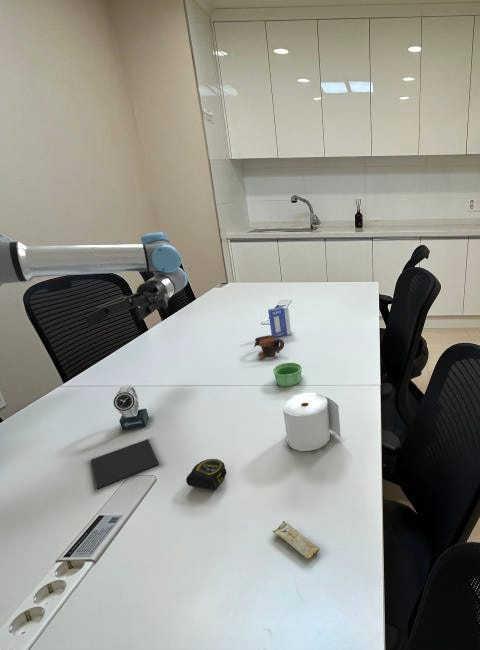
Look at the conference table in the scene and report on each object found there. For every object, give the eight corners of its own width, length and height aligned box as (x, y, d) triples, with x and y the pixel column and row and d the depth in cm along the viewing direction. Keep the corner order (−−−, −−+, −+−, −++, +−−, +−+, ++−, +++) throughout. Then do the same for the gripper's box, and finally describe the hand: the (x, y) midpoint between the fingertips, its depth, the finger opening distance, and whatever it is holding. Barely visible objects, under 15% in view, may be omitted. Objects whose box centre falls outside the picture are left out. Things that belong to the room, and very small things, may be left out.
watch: (120, 434, 100) (107, 398, 95) (128, 418, 107) (116, 383, 102) (144, 430, 101) (133, 394, 97) (150, 414, 108) (140, 379, 104)
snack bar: (321, 547, 67) (308, 555, 64) (319, 555, 67) (307, 563, 64) (285, 519, 72) (272, 525, 70) (283, 527, 72) (271, 533, 70)
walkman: (274, 338, 159) (270, 310, 154) (271, 336, 161) (267, 308, 156) (291, 333, 163) (288, 306, 158) (289, 331, 165) (285, 304, 160)
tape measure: (186, 489, 81) (182, 475, 80) (207, 468, 87) (204, 454, 86) (214, 495, 79) (210, 481, 78) (234, 473, 85) (231, 459, 84)
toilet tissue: (282, 433, 98) (277, 399, 94) (326, 420, 103) (323, 387, 99) (294, 457, 90) (289, 420, 86) (341, 441, 95) (339, 406, 91)
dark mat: (91, 460, 90) (91, 459, 90) (148, 440, 97) (147, 438, 97) (97, 489, 82) (96, 487, 82) (159, 464, 89) (158, 463, 88)
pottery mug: (251, 361, 140) (247, 338, 141) (264, 361, 149) (260, 340, 150) (281, 353, 138) (277, 331, 138) (292, 354, 147) (289, 333, 148)
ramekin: (294, 389, 119) (292, 376, 118) (269, 385, 122) (267, 372, 120) (307, 376, 127) (306, 364, 125) (283, 372, 130) (282, 361, 128)
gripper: (198, 298, 119) (165, 326, 100) (121, 308, 121) (75, 337, 102) (190, 274, 116) (153, 298, 97) (111, 285, 117) (60, 310, 98)
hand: (113, 318), depth 99 cm, fingers open, 13 cm apart
